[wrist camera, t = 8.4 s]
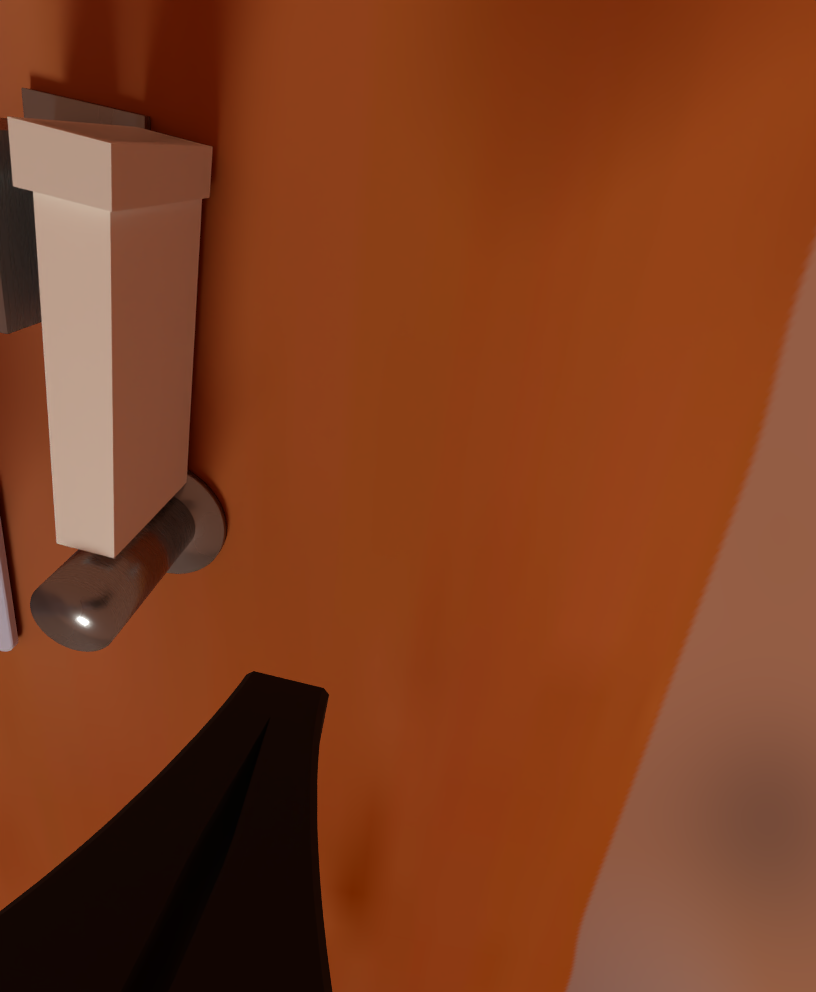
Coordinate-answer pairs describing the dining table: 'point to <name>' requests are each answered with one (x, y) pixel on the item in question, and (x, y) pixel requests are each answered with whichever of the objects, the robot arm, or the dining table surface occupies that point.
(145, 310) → the lipped cream column
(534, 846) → the dining table surface
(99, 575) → the pivot post
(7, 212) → the latch block
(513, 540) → the dining table surface
